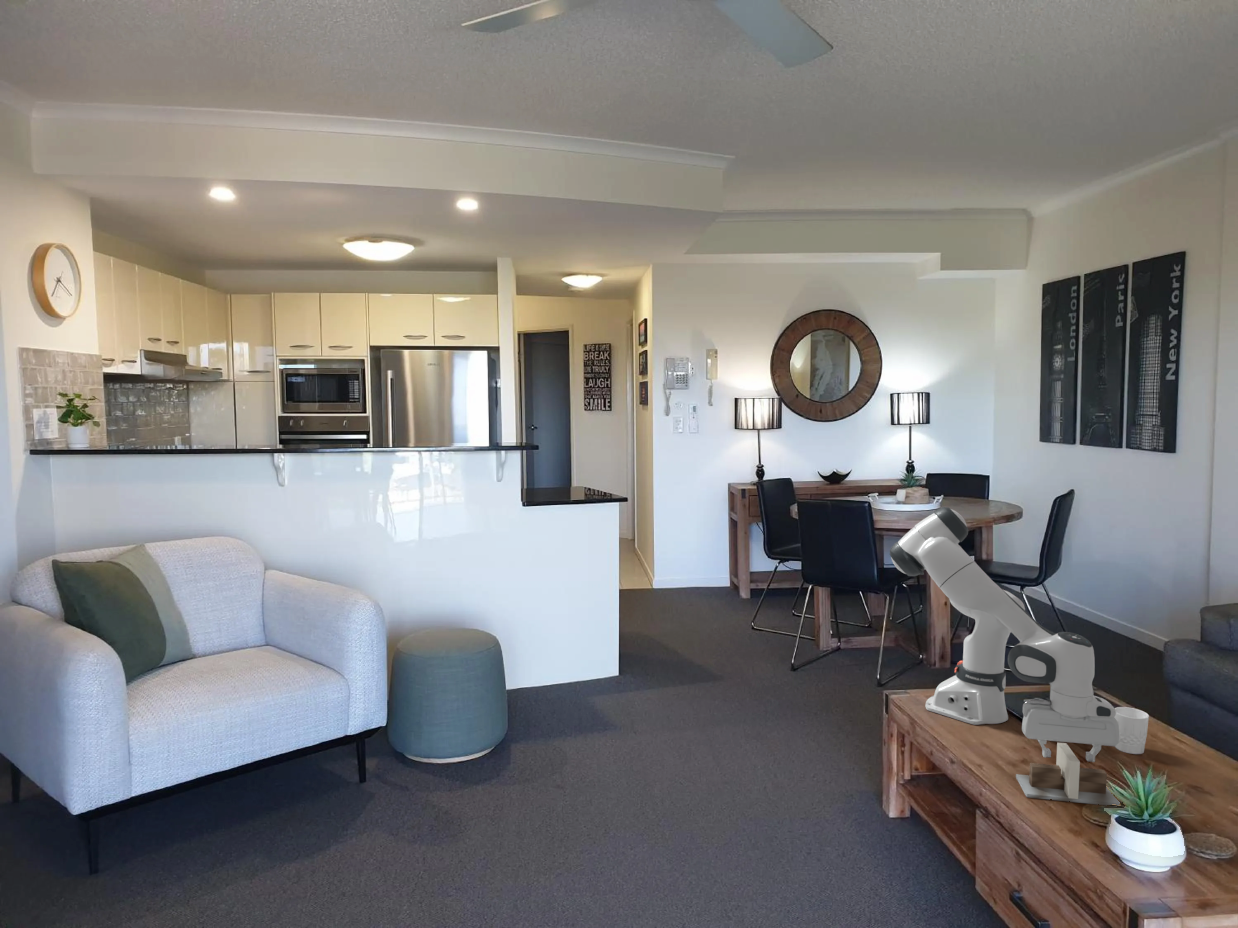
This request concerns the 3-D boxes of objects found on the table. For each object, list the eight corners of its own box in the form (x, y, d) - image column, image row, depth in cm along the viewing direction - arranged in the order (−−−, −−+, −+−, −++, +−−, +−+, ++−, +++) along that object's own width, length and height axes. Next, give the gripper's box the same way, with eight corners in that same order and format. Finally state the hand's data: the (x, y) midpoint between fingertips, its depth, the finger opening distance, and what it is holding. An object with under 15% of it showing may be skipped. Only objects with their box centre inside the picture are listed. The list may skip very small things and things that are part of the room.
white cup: (1152, 756, 208) (1154, 719, 207) (1118, 753, 209) (1120, 717, 208) (1139, 743, 215) (1141, 707, 215) (1106, 741, 217) (1108, 705, 216)
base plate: (1026, 796, 187) (1027, 773, 187) (1015, 776, 197) (1016, 754, 196) (1121, 806, 183) (1122, 782, 182) (1105, 785, 192) (1107, 762, 192)
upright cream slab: (1078, 798, 185) (1080, 761, 184) (1068, 797, 185) (1070, 760, 184) (1064, 778, 194) (1066, 743, 194) (1055, 777, 195) (1057, 742, 194)
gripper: (1026, 703, 187) (1024, 760, 188) (1123, 711, 183) (1120, 769, 184) (1019, 693, 193) (1017, 748, 195) (1113, 700, 189) (1110, 756, 190)
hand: (1068, 758), depth 189 cm, fingers open, 8 cm apart
